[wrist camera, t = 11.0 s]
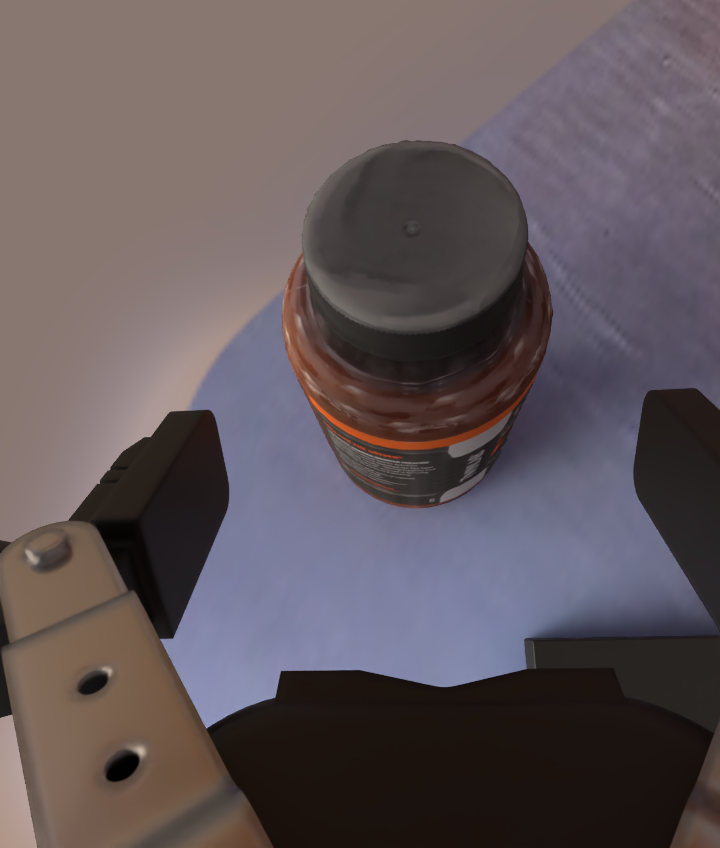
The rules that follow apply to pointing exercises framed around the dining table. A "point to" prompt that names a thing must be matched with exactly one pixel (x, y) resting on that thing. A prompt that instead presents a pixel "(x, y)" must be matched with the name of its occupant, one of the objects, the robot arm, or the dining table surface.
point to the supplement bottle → (416, 318)
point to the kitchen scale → (646, 668)
